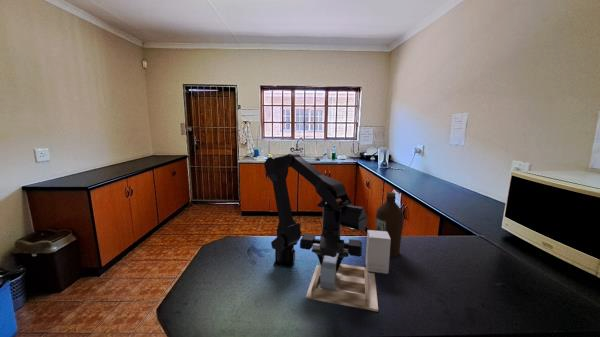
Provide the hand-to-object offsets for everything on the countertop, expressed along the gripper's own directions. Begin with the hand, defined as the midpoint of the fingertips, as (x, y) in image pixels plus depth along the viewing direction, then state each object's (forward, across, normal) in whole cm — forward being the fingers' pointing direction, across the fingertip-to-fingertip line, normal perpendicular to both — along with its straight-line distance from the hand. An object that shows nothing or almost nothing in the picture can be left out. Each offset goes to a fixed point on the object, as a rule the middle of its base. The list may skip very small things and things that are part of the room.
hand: (329, 269), depth 76 cm
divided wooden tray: (+4, +4, 0) cm, 6 cm away
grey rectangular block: (+2, 0, 0) cm, 3 cm away
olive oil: (+5, +20, +28) cm, 35 cm away
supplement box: (+5, +15, +14) cm, 22 cm away
